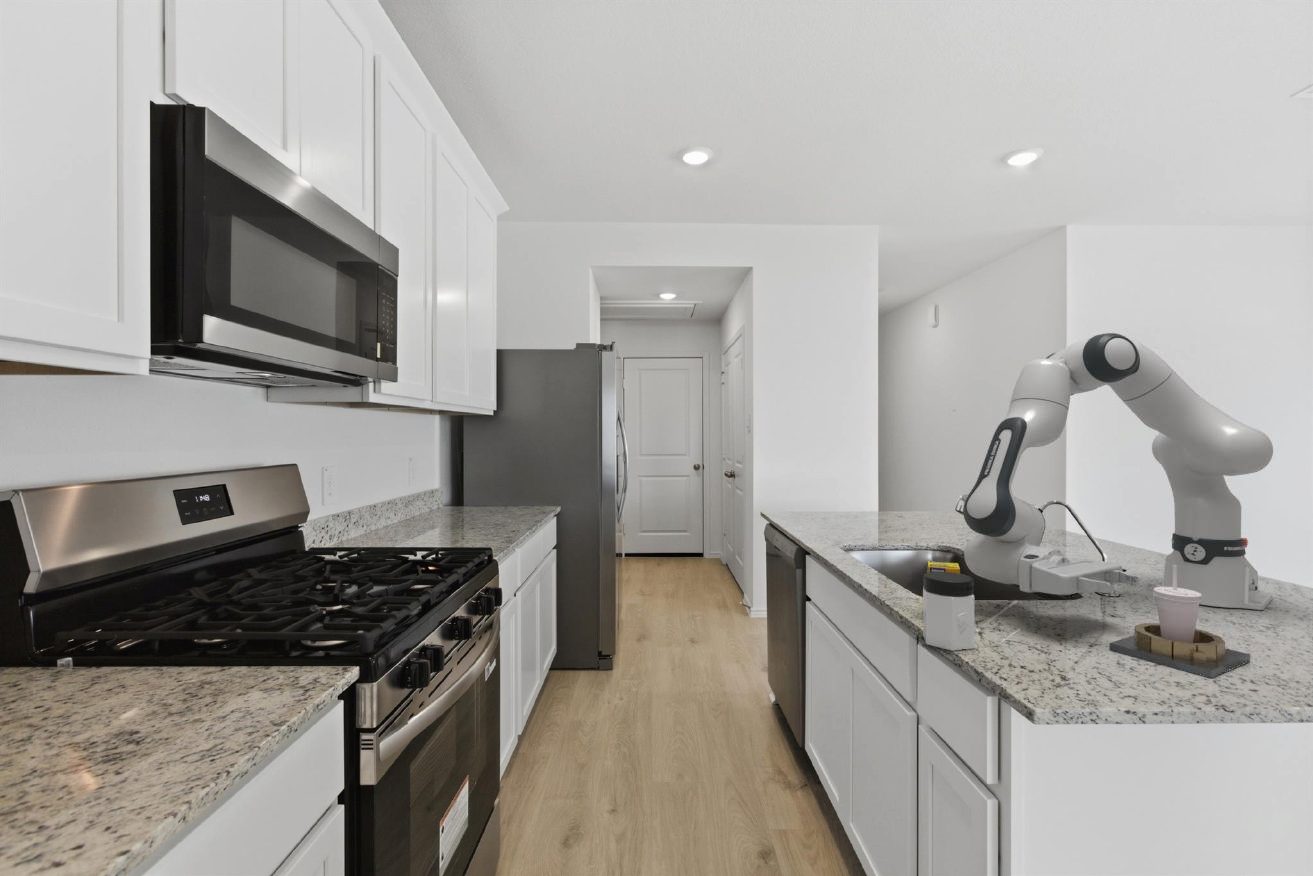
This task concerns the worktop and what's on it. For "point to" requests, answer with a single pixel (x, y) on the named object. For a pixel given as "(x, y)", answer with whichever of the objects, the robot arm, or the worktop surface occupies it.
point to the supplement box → (942, 567)
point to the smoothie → (1177, 611)
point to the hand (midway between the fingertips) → (1125, 585)
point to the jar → (948, 610)
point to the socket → (1181, 651)
